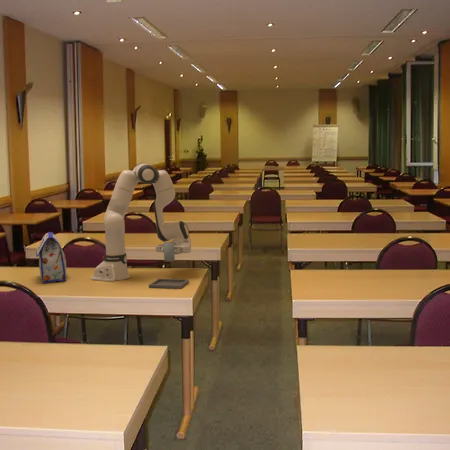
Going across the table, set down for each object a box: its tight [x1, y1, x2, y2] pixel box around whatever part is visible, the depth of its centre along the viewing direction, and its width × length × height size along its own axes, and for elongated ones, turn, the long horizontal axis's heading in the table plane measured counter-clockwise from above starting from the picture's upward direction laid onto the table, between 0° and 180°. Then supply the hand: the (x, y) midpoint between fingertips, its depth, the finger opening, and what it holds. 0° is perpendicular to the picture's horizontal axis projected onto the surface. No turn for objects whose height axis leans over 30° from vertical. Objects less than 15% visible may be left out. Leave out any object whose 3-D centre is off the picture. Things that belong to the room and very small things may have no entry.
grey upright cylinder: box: [162, 241, 176, 262], centre depth 362 cm, size 6×6×10 cm
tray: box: [148, 278, 190, 290], centre depth 351 cm, size 18×14×2 cm
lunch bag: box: [35, 231, 67, 284], centre depth 375 cm, size 23×17×27 cm
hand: (168, 251), depth 361 cm, fingers closed on grey upright cylinder, 6 cm apart
